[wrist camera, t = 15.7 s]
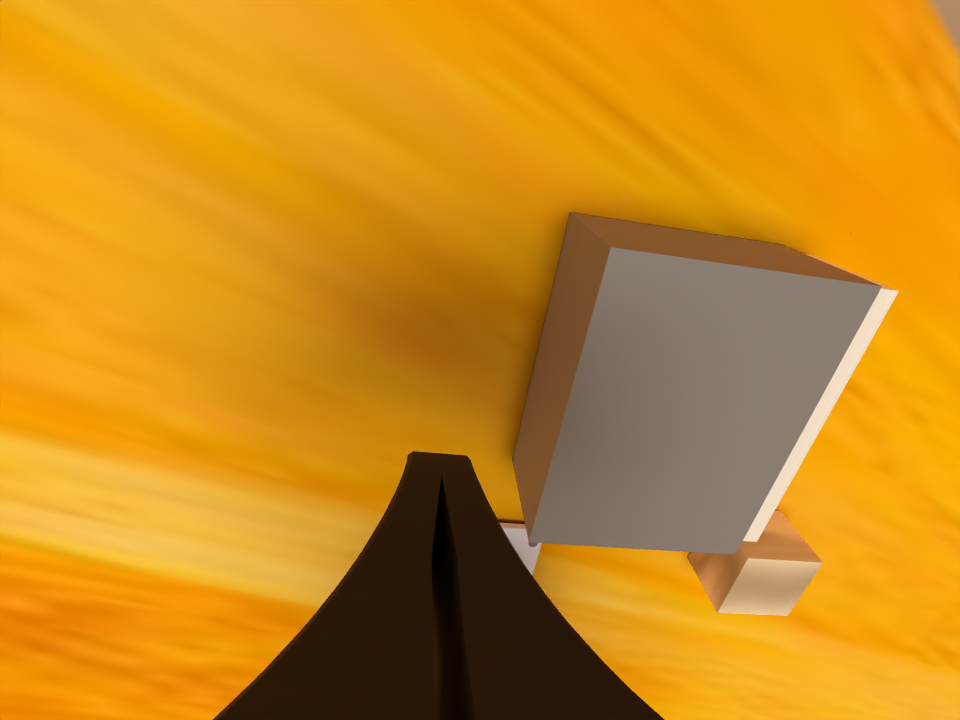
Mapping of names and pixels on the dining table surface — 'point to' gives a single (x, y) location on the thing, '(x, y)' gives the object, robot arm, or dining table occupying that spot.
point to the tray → (824, 404)
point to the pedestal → (759, 571)
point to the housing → (674, 383)
